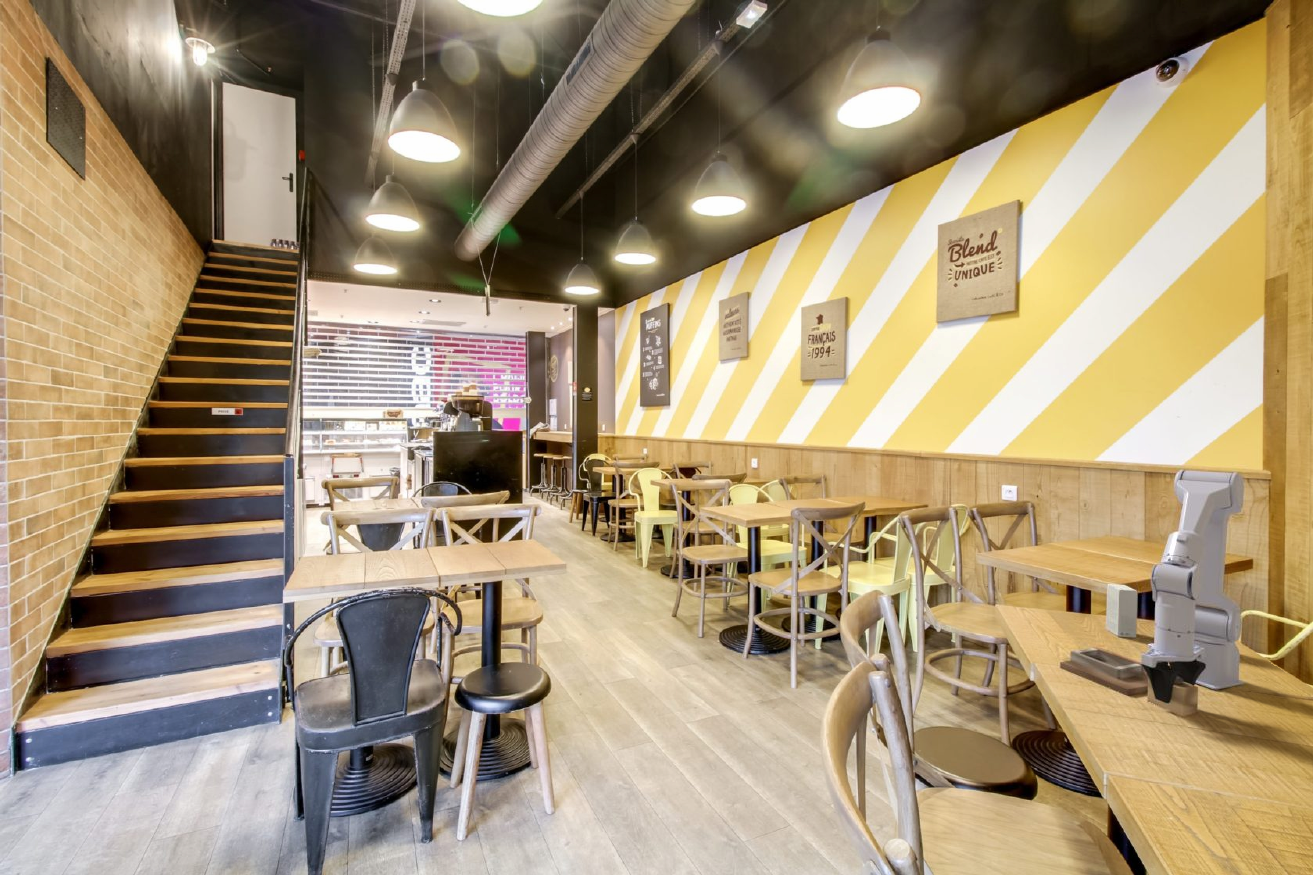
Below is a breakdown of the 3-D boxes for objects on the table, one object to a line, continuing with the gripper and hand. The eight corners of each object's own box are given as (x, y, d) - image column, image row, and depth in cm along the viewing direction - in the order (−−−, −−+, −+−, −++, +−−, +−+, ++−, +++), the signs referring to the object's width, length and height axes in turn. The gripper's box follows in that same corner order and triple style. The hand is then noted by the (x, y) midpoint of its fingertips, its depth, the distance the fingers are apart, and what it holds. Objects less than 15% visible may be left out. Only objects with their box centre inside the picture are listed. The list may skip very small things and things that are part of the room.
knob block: (1162, 699, 118) (1163, 669, 118) (1197, 713, 112) (1198, 682, 112) (1147, 702, 116) (1148, 672, 116) (1182, 716, 111) (1183, 685, 111)
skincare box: (1137, 638, 150) (1138, 590, 150) (1117, 637, 151) (1119, 589, 151) (1123, 630, 156) (1124, 584, 156) (1105, 628, 157) (1106, 583, 157)
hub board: (1112, 658, 137) (1112, 644, 137) (1182, 684, 124) (1182, 668, 124) (1060, 667, 132) (1060, 652, 132) (1127, 695, 119) (1127, 678, 119)
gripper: (1176, 617, 120) (1174, 684, 120) (1124, 624, 115) (1122, 694, 116) (1218, 629, 113) (1216, 700, 113) (1166, 637, 109) (1163, 711, 109)
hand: (1172, 698), depth 114 cm, fingers open, 5 cm apart
